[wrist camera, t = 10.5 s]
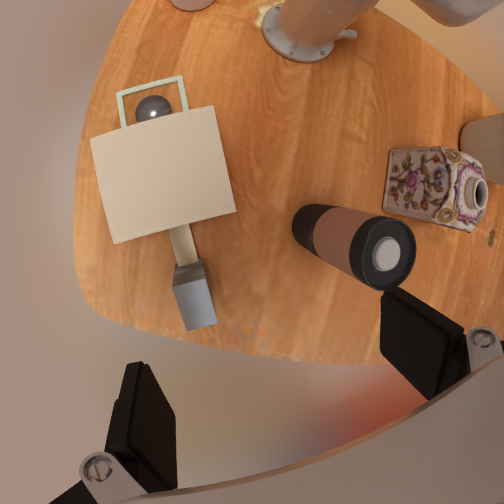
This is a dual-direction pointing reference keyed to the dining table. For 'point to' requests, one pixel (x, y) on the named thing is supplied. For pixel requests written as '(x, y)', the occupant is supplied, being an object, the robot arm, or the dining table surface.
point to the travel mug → (358, 243)
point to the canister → (486, 145)
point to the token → (152, 108)
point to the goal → (148, 86)
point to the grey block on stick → (191, 281)
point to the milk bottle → (191, 4)
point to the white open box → (162, 173)
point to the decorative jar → (436, 187)
